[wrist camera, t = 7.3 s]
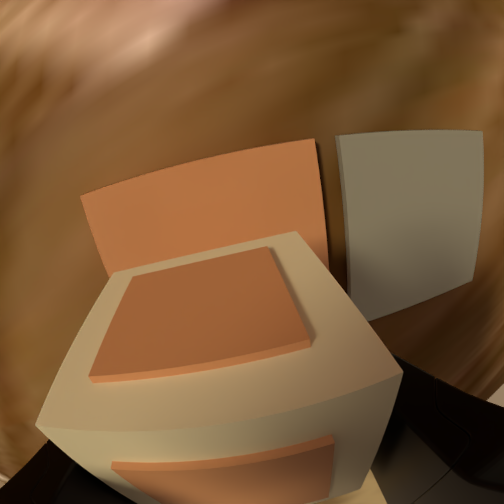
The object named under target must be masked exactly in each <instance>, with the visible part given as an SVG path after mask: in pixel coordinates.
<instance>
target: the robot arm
mask: <svg viewBox="0 0 504 504" xmlns="http://www.w3.org/2000/svg"><path fill="white" fill-rule="evenodd" d="M390 353H391V352H390ZM391 355H392V356H393V358H394V359H395V360H396V362H397V363H398V365H399V366H400V368H401V369H402V370H403V376H402V379H401V383H400V387H399V390H398V393H397V397H396V400H395V403H394V406H393V410H392V413H391V416H390V419H389V421H388V424H387V427H386V430H385V433H384V435H383V438H382V441H381V443H380V446H379V448H378V451H377V453H376V456H375V458H374V460H373V463H372V465H371V467H370V469H371V471H372V473H373V475H374V477H375V480H376V482H377V484H378V486H379V488H380V490H381V492H382V494H383V496H384V498H385V500H386V502H387V504H504V407H501V406H499V405H496V404H493V403H490V402H488V401H485V400H482V399H480V398H478V397H475V396H473V395H470V394H468V393H466V392H464V391H462V390H460V389H458V388H456V387H454V386H452V385H449V384H448V383H446V382H444V381H442V380H440V379H438V378H436V379H435V377H434V376H432V375H431V374H429V373H427V372H425V371H423V370H421V369H420V368H418V367H416V366H414V365H412V364H411V363H409V362H407V361H405V360H403V359H401V358H400V357H398V356H396V355H394V354H392V353H391ZM0 504H137V503H136V502H134V501H132V500H131V499H129V498H127V497H126V496H124V495H122V494H121V493H119V492H118V491H116V490H114V489H113V488H111V487H110V486H108V485H107V484H105V483H104V482H102V481H101V480H100V479H98V478H97V477H95V476H94V475H93V474H91V473H90V472H89V471H87V470H86V469H85V468H83V467H82V466H81V465H79V464H78V463H77V462H76V461H74V460H73V459H72V458H71V457H69V456H68V455H67V454H66V453H65V452H64V451H62V450H61V449H60V448H59V447H58V446H57V445H56V444H54V443H53V442H52V441H51V440H50V439H49V440H48V441H47V443H45V444H44V445H43V447H42V448H41V449H40V450H39V451H38V452H37V453H36V454H35V455H34V456H33V458H32V459H31V460H30V461H29V462H28V463H27V464H26V465H25V466H24V467H23V468H22V469H21V470H20V471H19V472H18V473H16V474H15V475H14V476H13V477H12V478H11V479H10V480H9V481H8V482H7V483H6V484H5V485H4V486H3V487H1V488H0Z"/></svg>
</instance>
